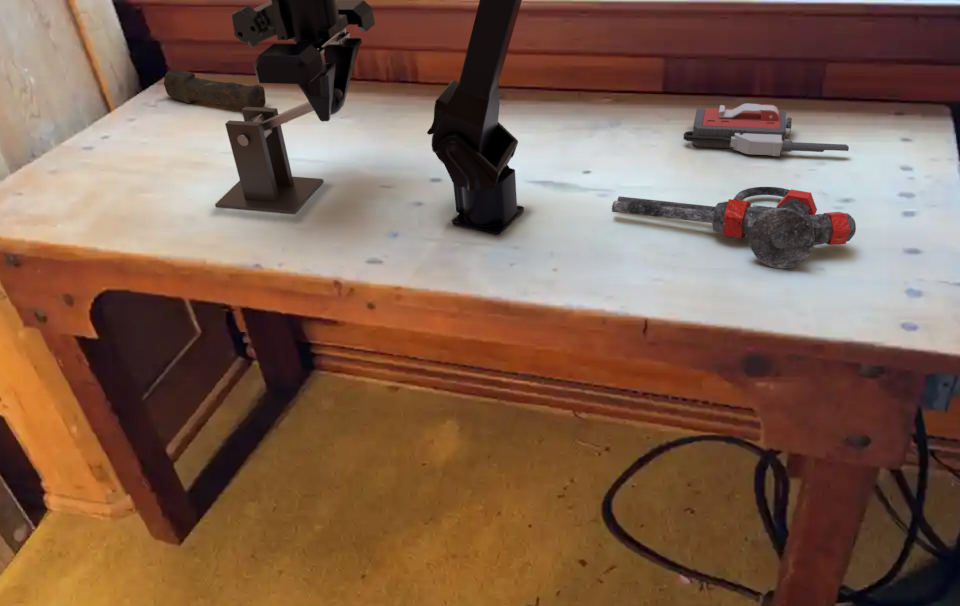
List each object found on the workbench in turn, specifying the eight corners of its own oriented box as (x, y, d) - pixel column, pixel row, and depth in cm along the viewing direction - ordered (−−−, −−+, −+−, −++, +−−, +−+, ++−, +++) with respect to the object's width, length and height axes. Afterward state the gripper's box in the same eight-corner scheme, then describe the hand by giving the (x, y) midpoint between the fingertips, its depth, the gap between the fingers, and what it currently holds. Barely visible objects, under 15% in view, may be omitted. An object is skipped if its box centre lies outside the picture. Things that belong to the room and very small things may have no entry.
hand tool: (270, 106, 139) (263, 77, 136) (253, 116, 136) (246, 87, 133) (181, 91, 147) (173, 63, 144) (163, 100, 144) (154, 72, 142)
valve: (862, 226, 102) (843, 279, 91) (640, 201, 113) (599, 245, 101) (871, 172, 99) (853, 219, 88) (642, 151, 110) (600, 191, 98)
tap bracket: (324, 187, 116) (308, 103, 109) (295, 220, 110) (276, 133, 103) (249, 181, 119) (228, 99, 112) (217, 212, 113) (192, 128, 106)
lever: (354, 101, 104) (338, 73, 103) (341, 114, 102) (325, 85, 100) (261, 140, 112) (245, 114, 110) (247, 152, 109) (230, 126, 107)
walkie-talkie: (680, 154, 116) (847, 162, 111) (683, 122, 113) (853, 129, 108) (687, 125, 122) (844, 132, 117) (689, 94, 119) (850, 99, 114)
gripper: (276, -51, 104) (304, 81, 113) (191, 2, 90) (231, 146, 100) (364, -53, 101) (386, 83, 110) (290, 1, 87) (322, 150, 96)
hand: (332, 113), depth 104 cm, fingers closed on lever, 3 cm apart
